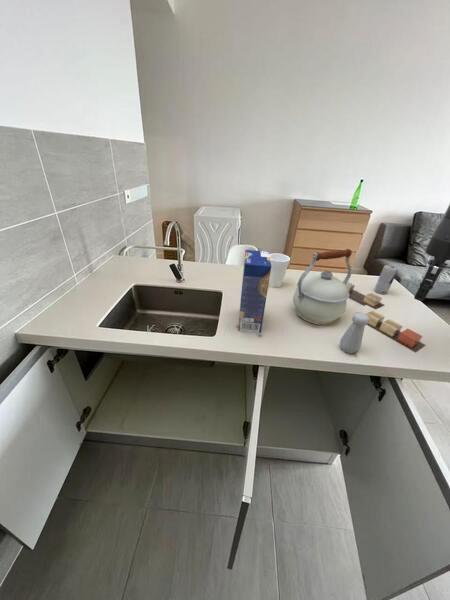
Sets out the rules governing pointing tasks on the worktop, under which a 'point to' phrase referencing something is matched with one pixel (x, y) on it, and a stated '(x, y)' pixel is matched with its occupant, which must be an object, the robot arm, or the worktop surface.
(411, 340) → the s tile
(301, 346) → the worktop surface
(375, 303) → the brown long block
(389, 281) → the energy drink
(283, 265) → the foam cup
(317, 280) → the kettle
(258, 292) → the juice carton
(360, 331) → the salt shaker
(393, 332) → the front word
